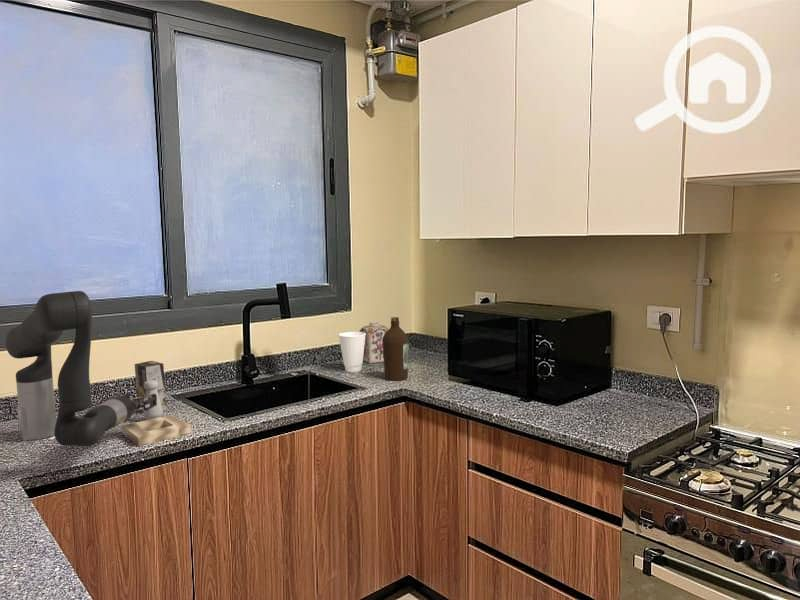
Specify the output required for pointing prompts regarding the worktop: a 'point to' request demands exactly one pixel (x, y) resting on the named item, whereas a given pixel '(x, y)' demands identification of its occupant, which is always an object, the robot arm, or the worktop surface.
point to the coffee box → (150, 372)
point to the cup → (352, 350)
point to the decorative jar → (373, 342)
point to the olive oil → (395, 352)
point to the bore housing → (156, 429)
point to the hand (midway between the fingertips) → (141, 396)
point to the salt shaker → (157, 410)
